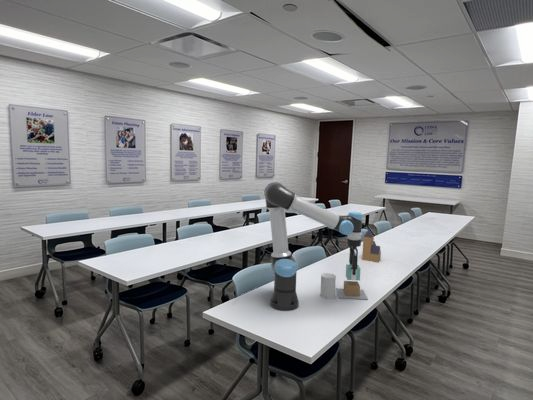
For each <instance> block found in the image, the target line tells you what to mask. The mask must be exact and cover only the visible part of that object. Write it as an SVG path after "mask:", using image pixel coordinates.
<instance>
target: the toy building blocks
mask: <svg viewBox="0 0 533 400" xmlns="http://www.w3.org/2000/svg"><path fill="white" fill-rule="evenodd" d="M374 238H375V237H374V235H373V233H372V231H371V230H370V228H368V230H367V231H366V233H365V234H363V237H362V239H363V240H362V253H361V254H362V256H361V260H362V261H366V262H371V261H372V263H377V264H378V263H379V261H380V262H381V257H382V255H381V254H382V251H381V246H380V245H377V244H376V241H375V239H374Z"/></svg>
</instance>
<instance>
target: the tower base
mask: <svg viewBox="0 0 533 400" xmlns="http://www.w3.org/2000/svg"><path fill="white" fill-rule="evenodd" d="M335 291H336V294H337V297H338V299H342V300H343V299H345V300H356V301H357V300H360V301H368V300H369V299H368V297H367V295H366V293H365V290H364V289H361V285H360V282H358V280H344V281H343V288H337V287H335Z"/></svg>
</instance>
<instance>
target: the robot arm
mask: <svg viewBox="0 0 533 400" xmlns="http://www.w3.org/2000/svg"><path fill="white" fill-rule="evenodd" d="M264 188H265V189H264V192H263V194H264V198H265V207H266V209H267V210H268V211H269V220H270V228H271V229H270V231H271V242H272V250H273V252H272V253H271V254H270V256H271V257H270V259H271V265H270V266H271V269H272V273H273V277H274V278H273V281H274V282H273V283H274V284H273V292H272V294H271V295H272V296H271V297H270V306H271V308H273V309H275V310H279V311H292V310H296V309H297V308H299V306H300V305H299V302H300V301H299V297H298V294H297V271H298V267H297V266H298V265H297V263H296V262H295V261H294V260H293V256H292V255H293V254H292V252H291V251H290V250H289V241H288V240H289V239H288V232H287V231H288V230H287V221H286V211H289V210H291V211H293V212H295V213H298V214H299V215H301V216H304V217H306V218H309V219H310V220H313V221H316V223H319V224H321V225H324V226H326V227H327V228H328V229H331V230H335V231H337V232H339V233H340V234H342V235H345V236H347V239H346V242H347V246H349V257H348V258H349V259H348V262H349V265H352V268H351V280H350V281H357V280H356V270H357V265H358V258H359V257H358V255H359V250H358V248H359V247H361V245H362V240H361V239H362V236H363V233H362V227H363V214H362V212H360V211H349V212H348V214H346V215H340V214H339V215H338V214H335V213H334V212H331V211H330V210H327V209H326V208H325V209H324V208H322V207H321V206H318V205H316V204H314V203H312V202H309V201H307V200H305V199H303V198H302V197H300V196H297V194H296V192H293V191H292V190H290V189H288V188H287V187H286V186H285V185H283V184H282V183H281V182H276V181H275V182H271V183H268V184H267V185H266V187H264Z"/></svg>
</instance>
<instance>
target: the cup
mask: <svg viewBox="0 0 533 400" xmlns="http://www.w3.org/2000/svg"><path fill="white" fill-rule="evenodd" d="M336 278H337V277H336V274H334V273H330V272H324V273H321V275H320V292H319V293H320V294H319V296H320V297H321V298H322V299H329V300H330V299H331V300H332V299H334V298H335V296H336V295H335V294H336Z"/></svg>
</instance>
